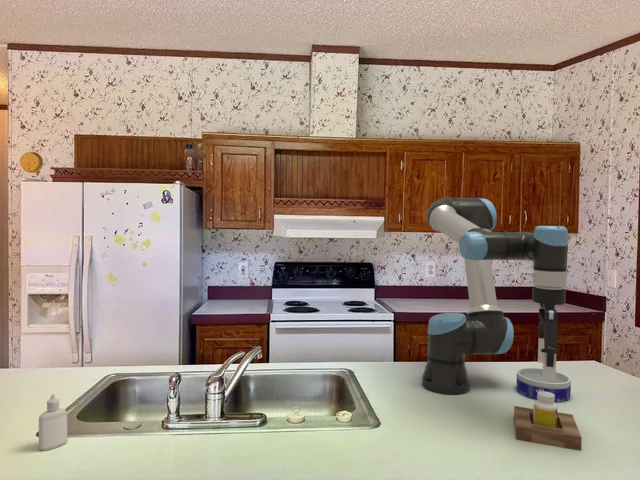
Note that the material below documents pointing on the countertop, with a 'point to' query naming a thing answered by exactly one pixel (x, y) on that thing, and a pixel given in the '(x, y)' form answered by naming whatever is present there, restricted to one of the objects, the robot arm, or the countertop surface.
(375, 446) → the countertop surface
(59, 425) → the eye dropper bottle
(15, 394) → the countertop surface
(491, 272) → the robot arm
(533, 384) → the dog bowl
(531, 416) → the walnut socket block
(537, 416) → the supplement bottle
